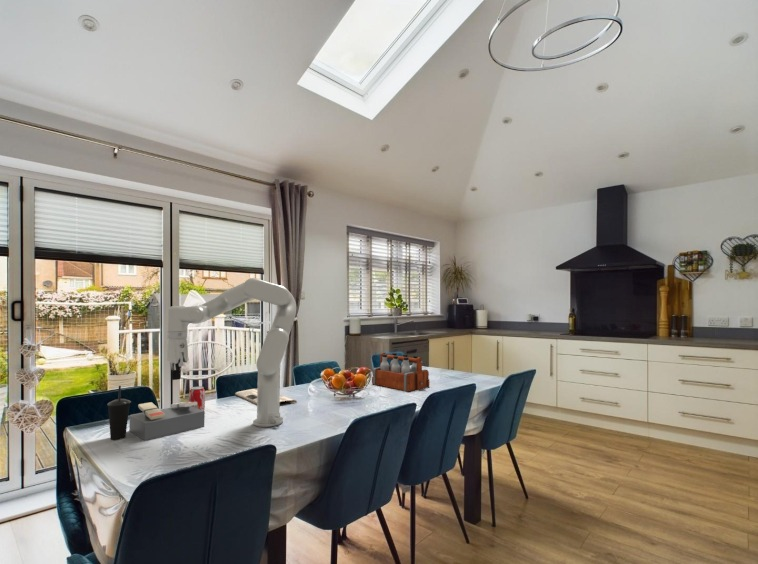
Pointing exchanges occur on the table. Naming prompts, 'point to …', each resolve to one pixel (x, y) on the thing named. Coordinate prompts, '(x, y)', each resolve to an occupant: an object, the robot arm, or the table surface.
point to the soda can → (197, 397)
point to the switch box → (167, 422)
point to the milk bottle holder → (400, 373)
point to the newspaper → (252, 396)
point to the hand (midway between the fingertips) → (175, 379)
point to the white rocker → (184, 404)
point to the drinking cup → (118, 417)
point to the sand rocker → (151, 410)
